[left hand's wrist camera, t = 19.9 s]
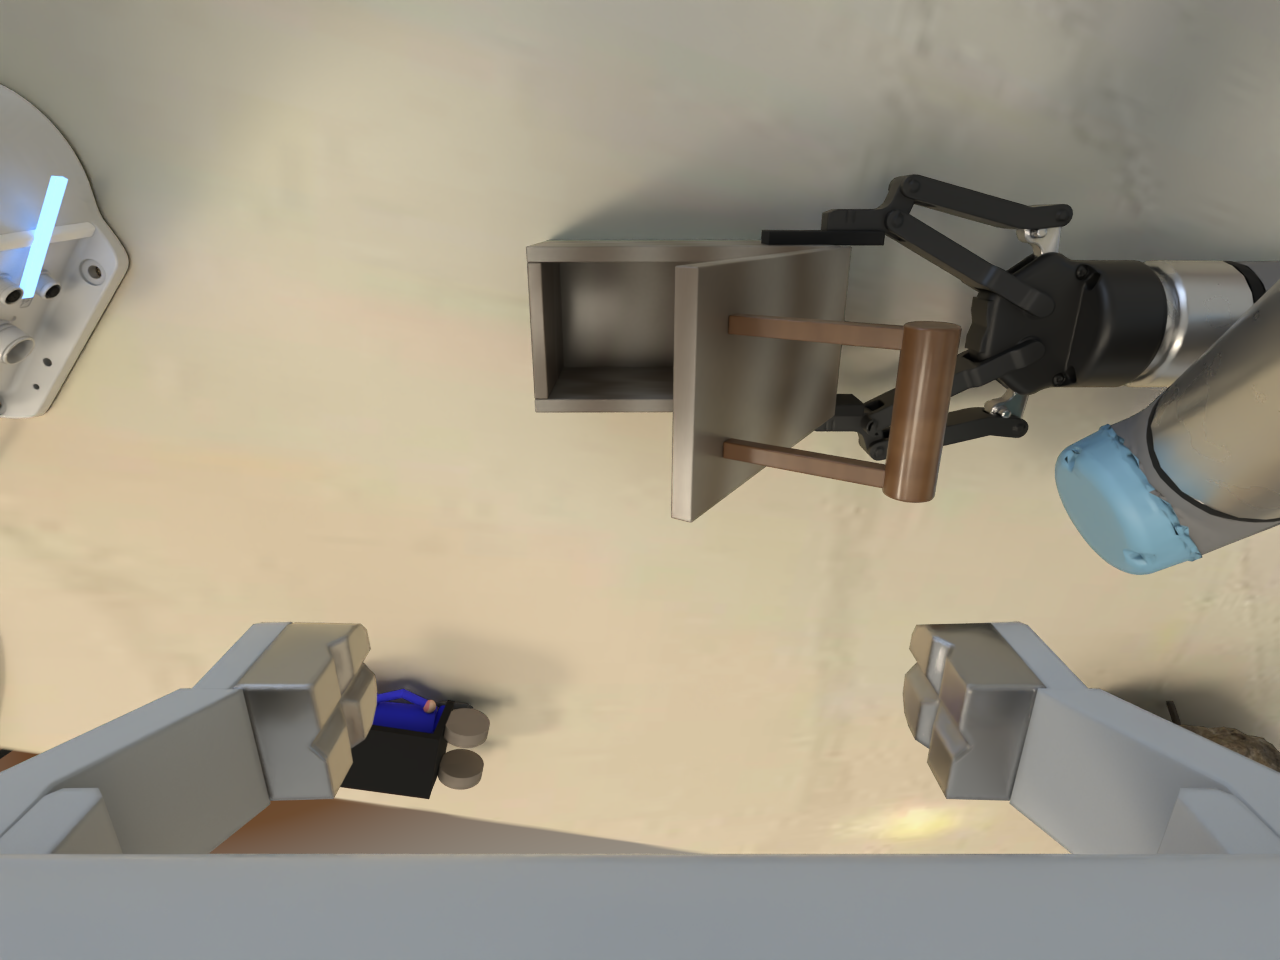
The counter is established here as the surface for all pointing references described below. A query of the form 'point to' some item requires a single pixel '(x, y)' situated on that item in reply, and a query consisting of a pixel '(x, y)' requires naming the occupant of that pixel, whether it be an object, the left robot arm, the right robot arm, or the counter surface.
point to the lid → (792, 378)
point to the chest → (613, 318)
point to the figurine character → (418, 747)
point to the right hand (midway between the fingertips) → (759, 324)
